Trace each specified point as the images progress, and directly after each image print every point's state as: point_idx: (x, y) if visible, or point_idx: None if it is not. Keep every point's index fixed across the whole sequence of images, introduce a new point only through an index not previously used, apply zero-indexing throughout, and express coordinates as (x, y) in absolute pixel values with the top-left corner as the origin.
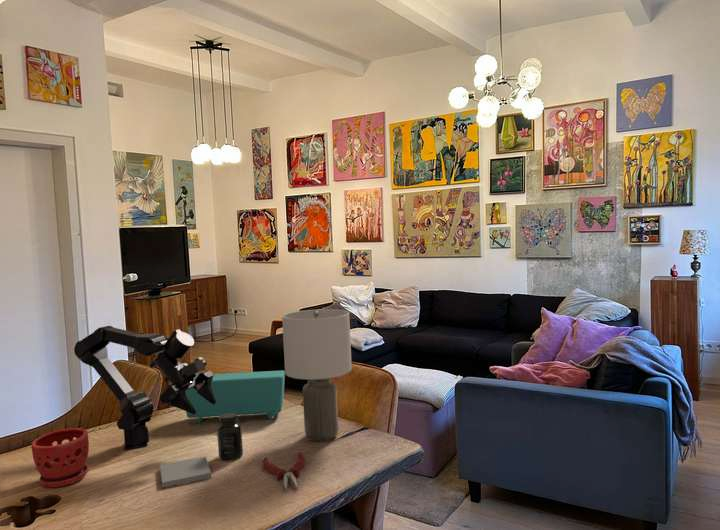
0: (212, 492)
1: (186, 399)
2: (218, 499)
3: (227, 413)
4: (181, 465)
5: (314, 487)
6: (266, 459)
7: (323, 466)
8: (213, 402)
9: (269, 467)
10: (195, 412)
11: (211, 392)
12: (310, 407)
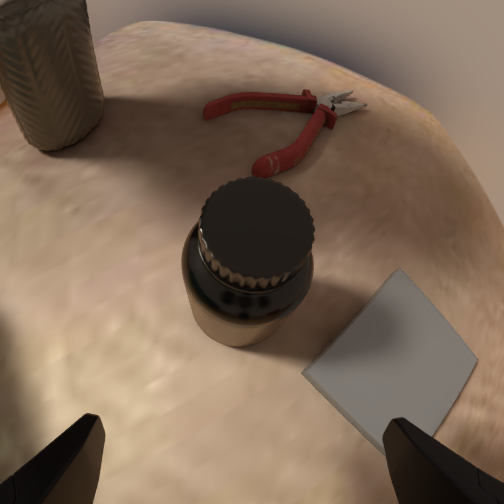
0: (433, 230)
1: (492, 495)
2: (442, 205)
3: (217, 251)
4: (395, 397)
5: (326, 79)
6: (281, 151)
7: (240, 78)
8: (97, 438)
9: (311, 139)
10: (403, 418)
11: (31, 483)
12: (81, 45)
